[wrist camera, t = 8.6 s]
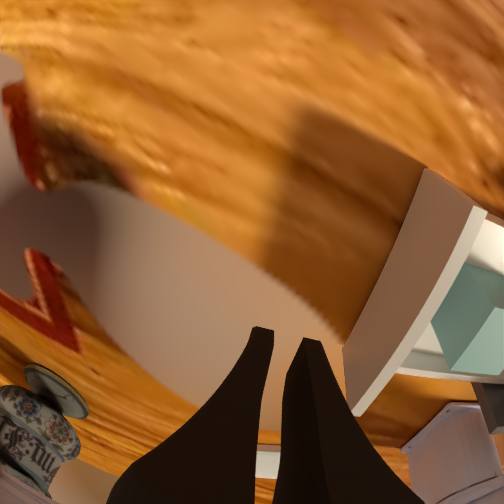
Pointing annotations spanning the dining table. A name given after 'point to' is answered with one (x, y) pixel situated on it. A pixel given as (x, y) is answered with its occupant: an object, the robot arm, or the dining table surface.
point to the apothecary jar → (39, 427)
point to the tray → (420, 291)
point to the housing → (491, 405)
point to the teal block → (472, 322)
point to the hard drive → (267, 461)
